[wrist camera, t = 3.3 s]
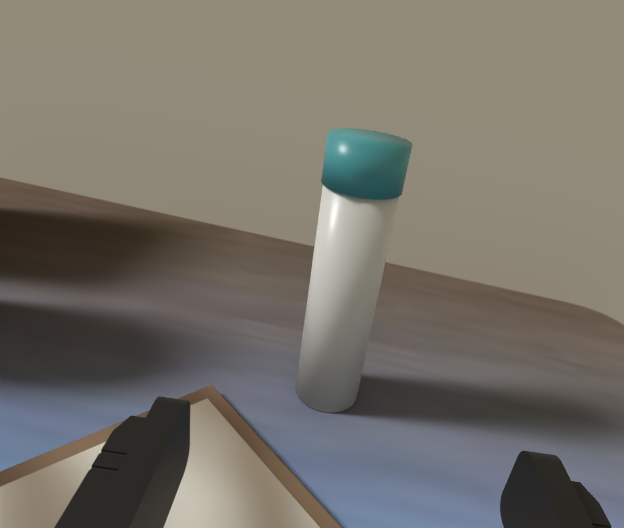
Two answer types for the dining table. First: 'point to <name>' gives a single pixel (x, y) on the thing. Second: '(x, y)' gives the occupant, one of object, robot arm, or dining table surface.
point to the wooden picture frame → (194, 485)
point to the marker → (348, 262)
